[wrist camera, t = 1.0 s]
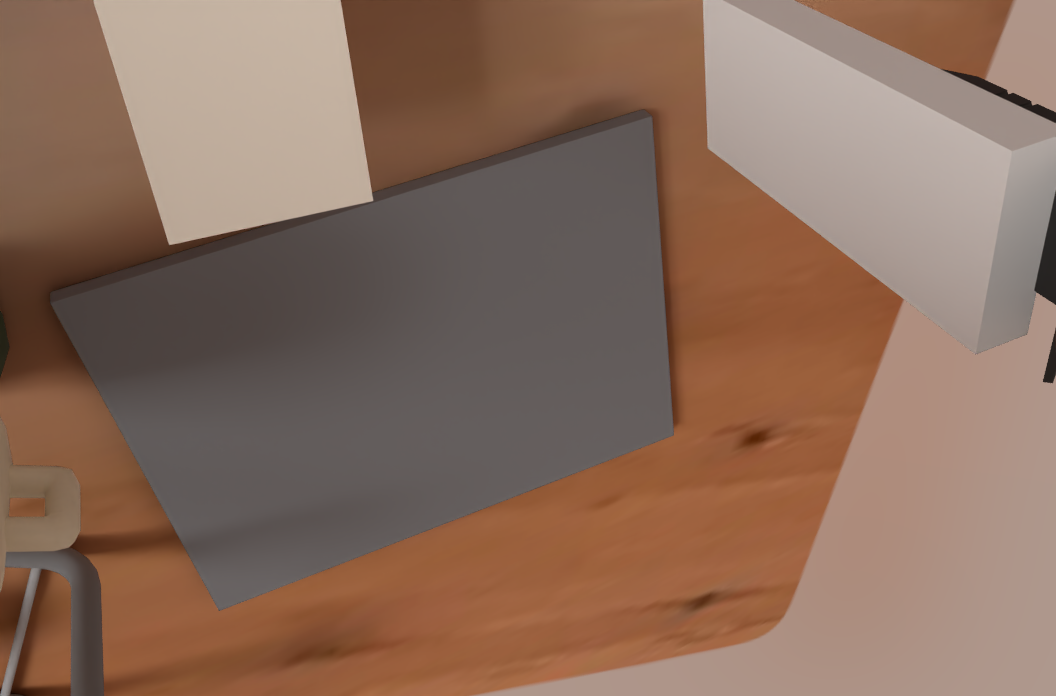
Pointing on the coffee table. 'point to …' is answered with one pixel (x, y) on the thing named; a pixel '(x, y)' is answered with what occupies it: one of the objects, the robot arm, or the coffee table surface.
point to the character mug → (35, 482)
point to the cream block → (239, 109)
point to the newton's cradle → (83, 616)
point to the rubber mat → (390, 356)
